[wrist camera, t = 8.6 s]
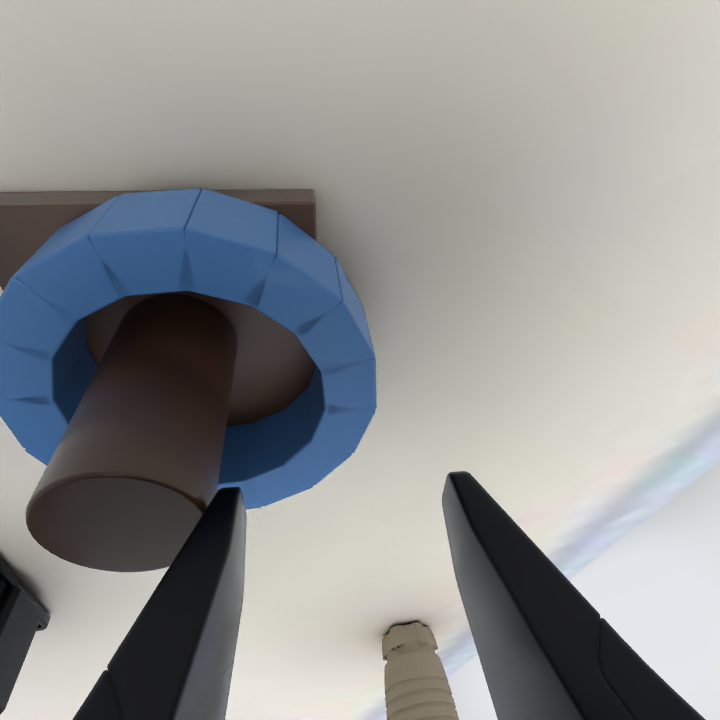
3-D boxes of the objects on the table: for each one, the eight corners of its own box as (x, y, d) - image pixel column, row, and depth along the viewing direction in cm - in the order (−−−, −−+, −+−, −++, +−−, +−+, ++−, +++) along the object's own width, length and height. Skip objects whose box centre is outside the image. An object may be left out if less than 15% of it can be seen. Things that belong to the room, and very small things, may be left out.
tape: (104, 468, 16) (81, 530, 14) (-48, 205, 10) (-121, 251, 9) (368, 437, 17) (378, 493, 15) (358, 175, 11) (373, 211, 9)
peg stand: (89, 424, 16) (-12, 644, 11) (-19, 192, 11) (-306, 377, 6) (320, 410, 17) (336, 605, 12) (313, 188, 12) (334, 346, 7)
